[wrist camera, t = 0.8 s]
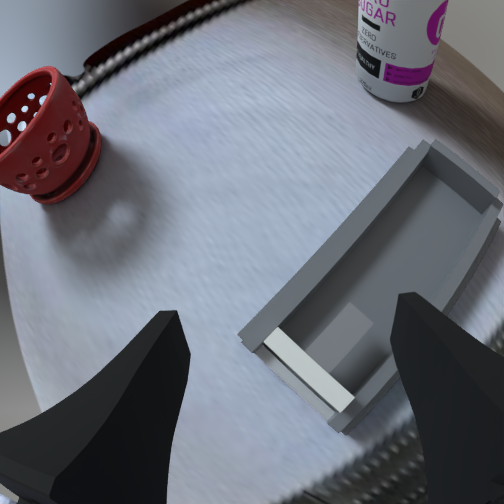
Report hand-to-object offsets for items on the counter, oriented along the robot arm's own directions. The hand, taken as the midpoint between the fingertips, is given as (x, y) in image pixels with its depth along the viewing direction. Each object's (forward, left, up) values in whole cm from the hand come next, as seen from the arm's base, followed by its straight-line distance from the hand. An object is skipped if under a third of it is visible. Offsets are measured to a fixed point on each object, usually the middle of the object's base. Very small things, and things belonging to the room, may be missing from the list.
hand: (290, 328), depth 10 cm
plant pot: (+32, +5, -14) cm, 36 cm away
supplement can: (+10, -27, -14) cm, 33 cm away
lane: (-2, -7, -14) cm, 16 cm away
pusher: (-2, -1, -13) cm, 13 cm away
